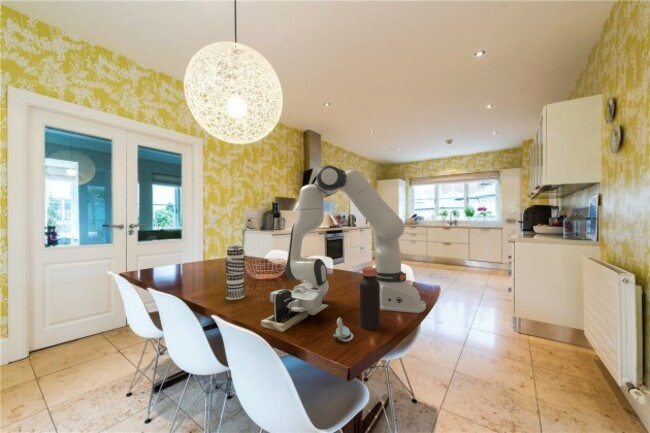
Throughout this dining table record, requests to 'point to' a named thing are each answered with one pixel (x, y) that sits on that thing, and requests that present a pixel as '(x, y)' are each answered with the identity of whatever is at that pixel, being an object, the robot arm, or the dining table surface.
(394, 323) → the dining table surface
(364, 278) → the bottle
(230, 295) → the decorative candle
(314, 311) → the tile pad
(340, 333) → the pacifier
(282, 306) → the black upright rounded piece
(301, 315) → the beige rectangular frame
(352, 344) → the dining table surface
